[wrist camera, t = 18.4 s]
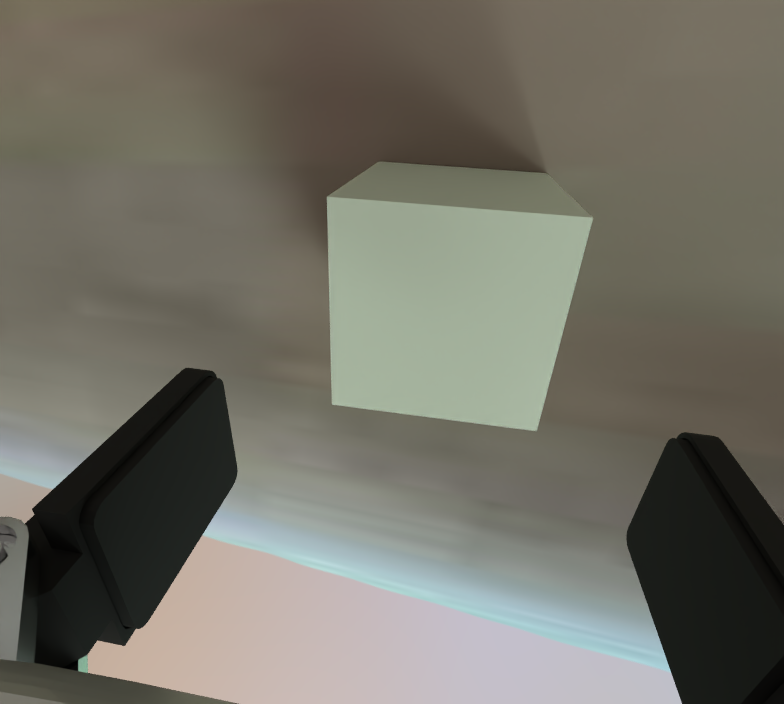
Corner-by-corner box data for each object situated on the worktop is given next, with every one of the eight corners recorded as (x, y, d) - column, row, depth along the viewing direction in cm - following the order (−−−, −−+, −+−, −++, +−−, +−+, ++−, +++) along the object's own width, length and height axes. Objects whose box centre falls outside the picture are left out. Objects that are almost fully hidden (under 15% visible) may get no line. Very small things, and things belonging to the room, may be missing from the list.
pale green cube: (546, 173, 20) (593, 217, 13) (515, 326, 24) (536, 431, 16) (378, 161, 21) (326, 196, 13) (374, 311, 25) (331, 404, 17)
